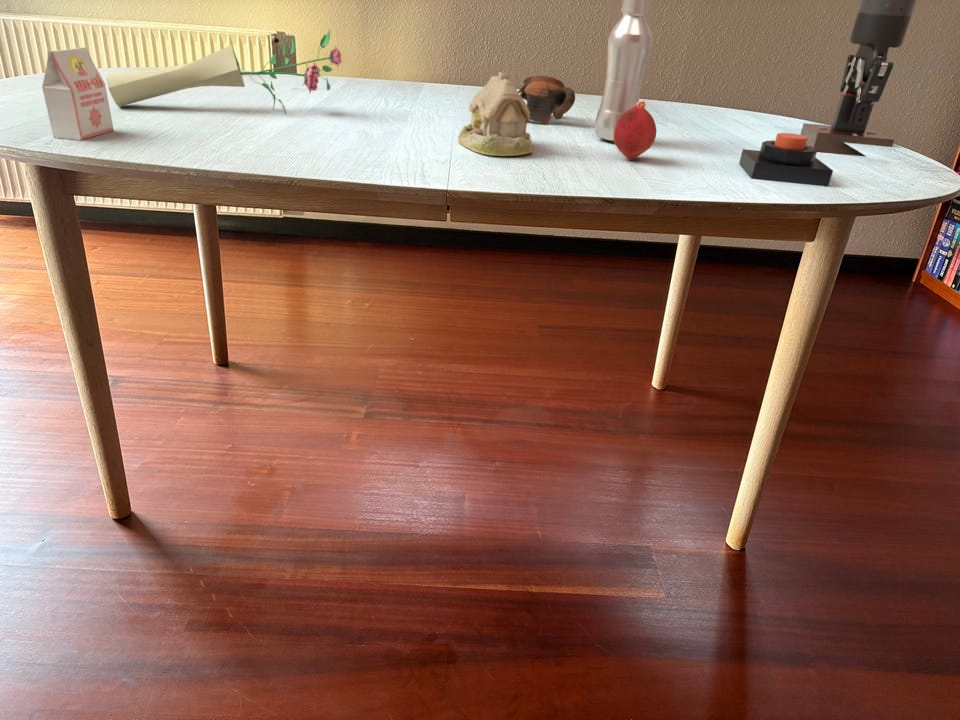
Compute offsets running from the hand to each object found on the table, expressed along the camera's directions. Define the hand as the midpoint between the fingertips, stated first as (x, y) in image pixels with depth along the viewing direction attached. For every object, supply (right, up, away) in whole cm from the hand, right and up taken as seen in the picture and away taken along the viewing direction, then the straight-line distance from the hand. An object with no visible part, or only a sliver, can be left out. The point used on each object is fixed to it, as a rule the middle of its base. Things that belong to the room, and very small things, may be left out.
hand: (849, 124), depth 114 cm
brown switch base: (0, -4, +2) cm, 4 cm away
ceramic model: (-59, -9, -15) cm, 62 cm away
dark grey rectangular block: (0, -1, 0) cm, 1 cm away
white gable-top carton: (-113, -10, -26) cm, 117 cm away
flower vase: (-102, 0, -5) cm, 102 cm away
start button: (-20, -11, -21) cm, 31 cm away
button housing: (-20, -14, -19) cm, 31 cm away
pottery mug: (-51, +3, +7) cm, 51 cm away
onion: (-41, -11, -17) cm, 45 cm away
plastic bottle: (-41, -5, -6) cm, 41 cm away
